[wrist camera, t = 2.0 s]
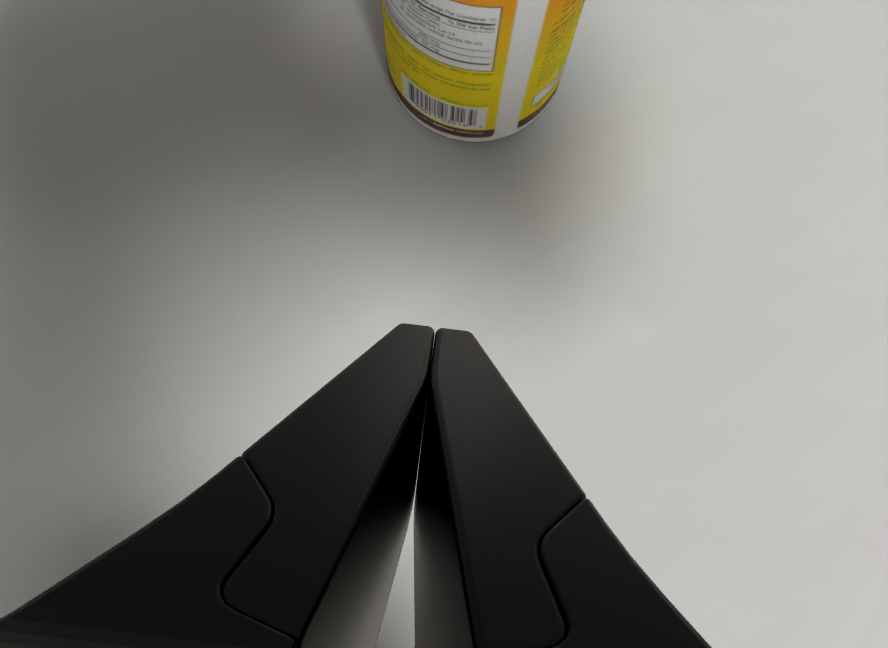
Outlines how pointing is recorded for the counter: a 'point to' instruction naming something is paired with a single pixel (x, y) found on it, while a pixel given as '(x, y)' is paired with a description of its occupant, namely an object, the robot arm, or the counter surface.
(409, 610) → the counter surface
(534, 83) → the supplement bottle
